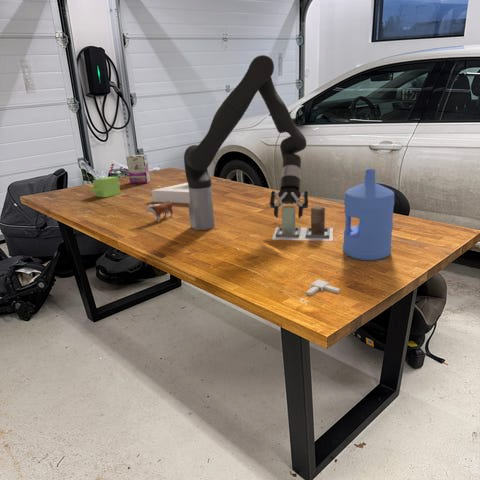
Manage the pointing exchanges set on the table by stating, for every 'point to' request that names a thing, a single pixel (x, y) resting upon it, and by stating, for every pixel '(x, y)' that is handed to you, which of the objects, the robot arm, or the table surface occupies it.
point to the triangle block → (172, 194)
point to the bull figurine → (160, 209)
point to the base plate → (303, 234)
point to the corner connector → (323, 285)
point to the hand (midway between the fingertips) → (287, 216)
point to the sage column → (288, 220)
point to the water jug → (368, 220)
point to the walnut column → (318, 220)
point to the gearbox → (106, 187)
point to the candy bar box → (138, 169)
